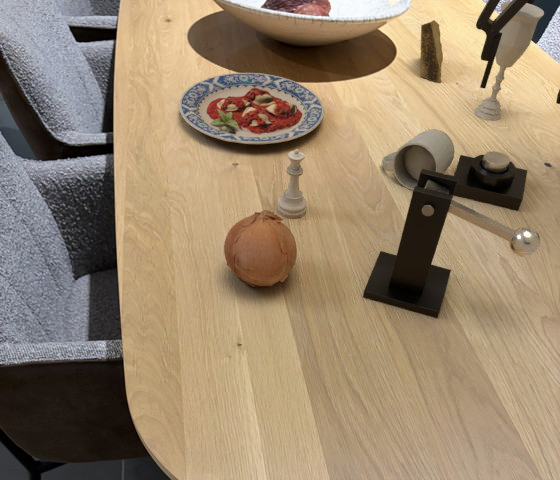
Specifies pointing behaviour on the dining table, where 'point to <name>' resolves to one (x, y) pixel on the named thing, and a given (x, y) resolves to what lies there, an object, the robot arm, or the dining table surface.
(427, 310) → the lever bracket
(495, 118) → the chalice
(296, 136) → the ceramic plate
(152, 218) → the dining table surface
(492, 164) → the push button
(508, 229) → the flush lever
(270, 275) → the onion
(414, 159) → the ceramic mug
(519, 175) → the push button base
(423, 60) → the rock
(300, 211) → the chess piece
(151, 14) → the dining table surface
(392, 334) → the dining table surface
